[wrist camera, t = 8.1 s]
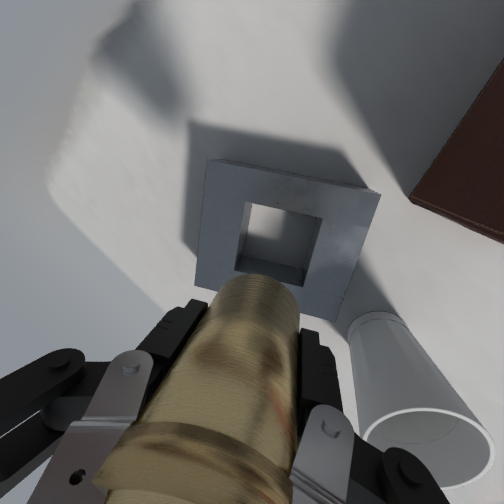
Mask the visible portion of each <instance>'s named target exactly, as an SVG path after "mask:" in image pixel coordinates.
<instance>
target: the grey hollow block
mask: <svg viewBox="0 0 504 504" xmlns="http://www.w3.org/2000/svg"><path fill="white" fill-rule="evenodd" d="M380 197H381V194H379V193H377V192H375V191H373V190H371V189H369V188H364V187H359V186H354V185H349V184H344V183H339V182H333V181H328V180H323V179H318V178H313V177H308V176H303V175H298V174H293V173H288V172H283V171H278V170H273V169H268V168H263V167H258V166H253V165H248V164H243V163H238V162H233V161H228V160H223V159H217V160H207V167H206V177H205V186H204V196H203V206H202V216H201V225H200V235H199V245H198V255H197V264H196V274H195V284H194V286H198V287H202V288H206V289H210V290H213V291H217V292H218V291H219V290H220V288H221V287H222V286H223V285H224V284H225V283H226V282H228V281H229V280H230V279H232V278H234V277H237V276H240V275H245V274H260V275H265V276H268V277H271V278H273V279H275V280H277V281H279V282H280V283H282V284H283V285H284V286H286V287H287V288H288V289H289V290H290V292H291V293H292V294H293V296H294V297H295V299H296V301H297V304H298V307H299V312H300V313H303V314H306V315H310V316H314V317H318V318H322V319H326V320H330V321H334V322H335V320H336V318H337V315H338V312H339V309H340V307H341V304H342V301H343V298H344V296H345V293H346V290H347V287H348V285H349V282H350V279H351V276H352V274H353V271H354V268H355V265H356V263H357V260H358V257H359V255H360V252H361V249H362V246H363V244H364V241H365V238H366V235H367V233H368V230H369V227H370V224H371V222H372V219H373V216H374V213H375V211H376V208H377V205H378V202H379V200H380ZM252 203H254V204H259V205H264V206H268V207H273V208H278V209H282V210H287V211H292V212H296V213H301V214H306V215H310V216H315V217H318V219H317V222H316V226H315V229H314V233H313V236H312V240H311V244H310V247H309V251H308V254H307V258H306V261H305V265H304V269H303V270H302V269H298V268H294V267H290V266H286V265H281V264H277V263H273V262H269V261H265V260H261V259H256V258H252V257H248V256H244V255H243V253H244V247H245V242H246V236H247V230H248V225H249V219H250V213H251V208H252Z"/></svg>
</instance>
